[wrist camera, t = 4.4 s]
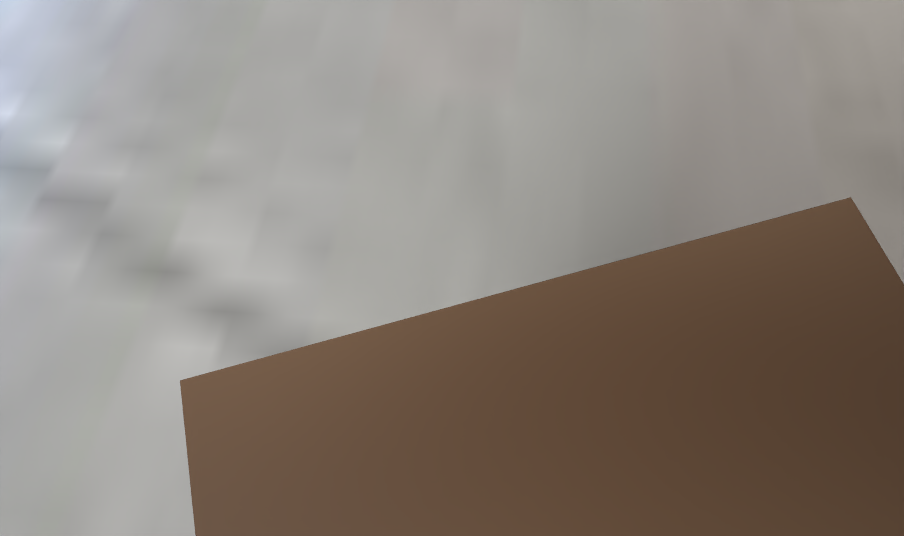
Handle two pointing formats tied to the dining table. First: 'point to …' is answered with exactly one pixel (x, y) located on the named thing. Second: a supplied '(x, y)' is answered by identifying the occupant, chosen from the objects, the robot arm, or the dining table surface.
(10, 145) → the dining table surface
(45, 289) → the dining table surface
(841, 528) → the wooden cuboid post
